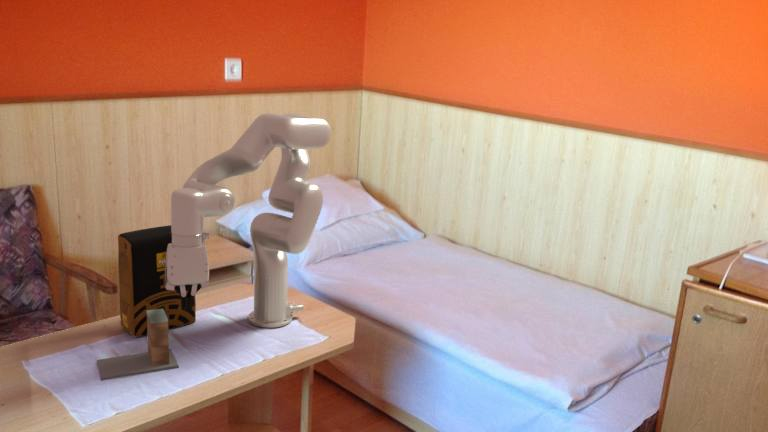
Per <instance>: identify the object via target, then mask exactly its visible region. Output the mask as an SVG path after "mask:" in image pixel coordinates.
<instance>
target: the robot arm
mask: <svg viewBox="0 0 768 432" xmlns="http://www.w3.org/2000/svg"><path fill="white" fill-rule="evenodd" d="M331 129H332V128H331V126H330V124H329V123H328V121H326V120H325V119H323V118H321V117H315V116H309V115H308V116H307V115H303V114H297V113H296V114H295V113H285V114H276V113H268V112H267V113H262V114H260V115H259V116H258V117H256V118H255V119H254V120H253V121H252V123H251V124H250V125H249V126H248V127H247V128H246V130H245V131H244V132H243V133H242V135H241V136H240V137H239V138H238V140H236V142H235V143H234V144H233V145H232V147H230V149H228V150H225V151H223V152H221V153H219V154H216V156H214V157H212V158H210V159H208V160H206V161H204V162H203V163H202V164H200V165H199V166H198V167H197V168H196V169H195V170H194V171H193V173H192V174H190V176H189V177H188V178H187V180H186V181H185V183H184V184H183V186H182V187H181V188H177V189H174V190H173V191H172V192H171V196H170V207H171V208H170V221H171V222H170V224H171V243H169V244H168V247H167V252H166V262H165V279H166V284H165V288H166V289H167V290H175V291H176V292H178V293H179V294H180V295H181V307H182V308H184V310H185V312H188V310H189V311H192V307H193V306H194V296H195V297H196V295H197V293H198V292H199V291H200V289H202V288H206V287H208V286H210V280H209V279H210V263H209V255H208V253H209V252H208V249H207V244H206V242H205V241H206V240H207V239H210V233H206V232H204V219H205V218H213V217H214V218H215V217H216V218H218V217H223V216H225V215H227V214H229V213H230V212H231V211H232V210H233V208H234V206H235V202H236V201H235V200H236V199H235V195H234V194H233V192H232V191H231V190H230V189H228V188H226V187H224V186H220V185H217V184H218V183H220V182H222V181H224V180H226V179H230V178H233V177H237V176H238V177H239V176H243V175H247V174H251V173H254V172H255V171H257V170H258V168H259V167H261V165H262V163H263V162H264V161H265V159H266V158H267V157H268V156H269V155H270V154H271V152H272V151H273V150H274V149H275V148H280V151H281V156H280V157H281V159H280V163H279V165H278V168H277V171H276V175H275V177H274V179H273V182H272V185H271V187H270V190H269V193H268V203H269V205H270V206H271V207H272V208H273V209H275V210H277V211H278V210H279V211H282V212H284V213H285V212H286V213H288V214H289V213H290V214H292V216H291V217H289V216H286V215H282V214H280V213H279V214H278V213H274V212H262V213H259V214H257V215H256V216H255V217H253V219H252V221H251V223H250V229H249V232H250V233H249V234H250V235H249V236H250V240H251V243H252V244H251V245H252V250H253V310H252V311H251V312H249V314H248V316H247V318H248V322H249V323H250V324H251V325H253V326H255V327H259V328H265V329H266V328H267V329H268V328H269V329H273V328H280V327H284V326H286V325H288V324H290V323H291V322H292V320H293V314H294V312H295V313H296V312H303V311H304V305H303V304H301V303H300V304H297V302H291V303H289V302H288V285H289V284H288V277H289V271H288V270H289V259H288V255H287V254H292V255H299V254H301V253H303V252H304V251H305V250H306V248H307V247H308V246H309V243H310V242H311V238H312V235H313V233H314V232H315V231H314V230H315V228H316V225H317V222H318V220H319V217H320V215H321V211H322V209H323V205H324V203H323V202H324V196H323V195H324V194H323V191H322V189H321V188H320V187H319V186H318V185H317V184H315V183H313V182H310V181H307V180H308V179H307V178H308V176H309V174H310V169H311V158H310V155H309V152H308V150H321V149H323V148H324V147H326V146H327V144H328V143H329V141H330V139H331V135H332V130H331ZM185 285H189V291H188V292H187V293H186V290H185Z"/></svg>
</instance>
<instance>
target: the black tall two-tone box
mask: <svg viewBox="0 0 768 432" xmlns="http://www.w3.org/2000/svg"><path fill="white" fill-rule="evenodd" d="M117 242H118V243H117V244H118V249H117V250H118V251H117V252H118V255H117V256H118V260H117V263H118V283H119V284H118V285H119V287H118V288H119V315H120V317H119V318H120V325H121V326H122V328H123V329H124V330H125V331H126V332H128V334H130V335H131V336H133V337H134V338H139V337H144V336H148V334H147V310H155V309H164V312H165V314H166V316H167V318H168V331H169V330H173V329H177V328H180V327H184V326H188V325H191V324H194V323H196V318H197V315H196V313H197V312H196V311H197V309H196V305H197V304H196V295H195V296H194V306H193V307H192V311H189V310H188V312H185V310H184V308H182V307H181V295H180V294H179V293H178V292H176V291H175V290H167V289H166V288H165V284H166V279H165V262H166V252H167V247H168V244H169V243H171V225H162V226H155V227H149V228H143V229H136V230H131V231H126V232H123V233H120V234H118V236H117ZM185 290H186V293H187V292H188V291H189V285H185Z"/></svg>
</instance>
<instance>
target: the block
mask: <svg viewBox="0 0 768 432" xmlns="http://www.w3.org/2000/svg"><path fill="white" fill-rule="evenodd" d="M147 334H148V335H147V352H148V355H149V358H150V360H151V363H152V366H160V365H166V364H169V349H170V343H169V342H170V341H169V339H170V338H169V336H170V335H169V330H168V318H167V316H166V314H165V312H164V309H155V310H147Z"/></svg>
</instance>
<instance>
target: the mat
mask: <svg viewBox="0 0 768 432" xmlns="http://www.w3.org/2000/svg"><path fill="white" fill-rule="evenodd" d="M96 363H97V369H98V373H99V377H100V381H105V380H112V379H118V378H122V377H130V376H135V375H142V374H148V373H154V372H155V373H156V372H159V371H166V370H173V369H177V368H179V365H180V364H179V363H178V361H177V359H176V356H175V354H174V352H173V349H172V348H171V347H169V364H166V365H160V366H152V363H151V360H150V358H149V355H148V351H146V352H140V353H139V352H138V353H132V354H126V355H125V354H124V355H118V356H114V357H106V358H105V357H104V358H101V359H96Z"/></svg>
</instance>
